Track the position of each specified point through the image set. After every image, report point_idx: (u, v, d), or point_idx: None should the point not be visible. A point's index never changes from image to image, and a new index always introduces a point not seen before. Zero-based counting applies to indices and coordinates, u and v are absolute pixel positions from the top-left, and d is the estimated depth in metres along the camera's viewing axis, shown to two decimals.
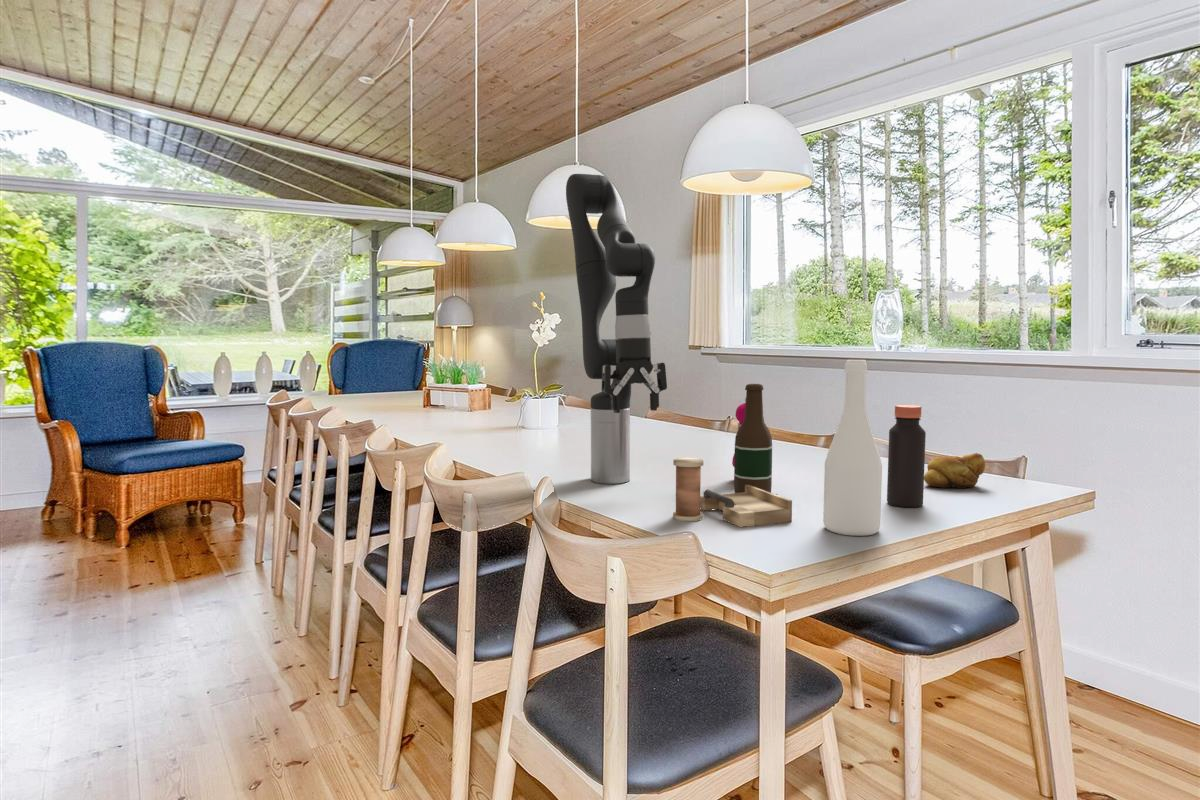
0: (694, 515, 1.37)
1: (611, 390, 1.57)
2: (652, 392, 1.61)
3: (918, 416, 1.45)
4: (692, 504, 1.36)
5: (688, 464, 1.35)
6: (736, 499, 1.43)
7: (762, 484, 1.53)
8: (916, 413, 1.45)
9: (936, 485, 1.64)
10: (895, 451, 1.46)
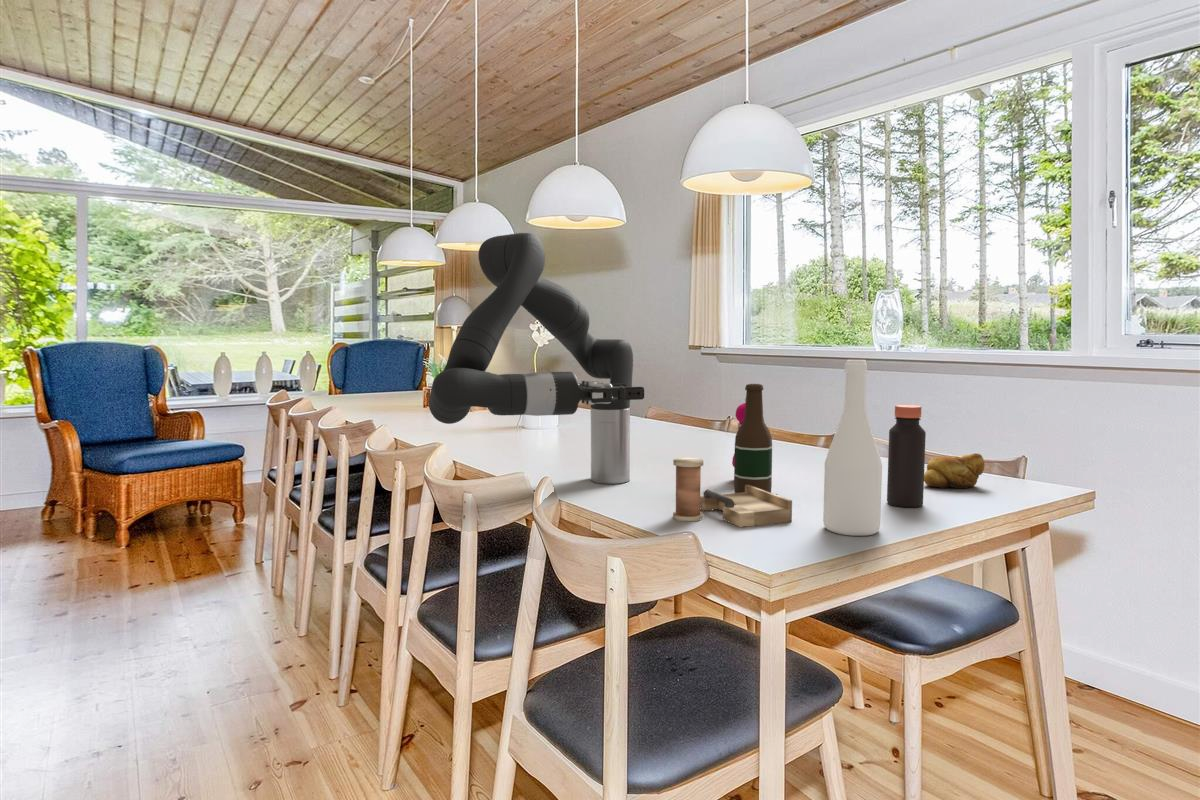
0: (694, 515, 1.37)
1: None
2: None
3: (918, 416, 1.45)
4: (692, 504, 1.36)
5: (688, 464, 1.35)
6: (736, 499, 1.43)
7: (762, 484, 1.53)
8: (916, 413, 1.45)
9: (935, 485, 1.64)
10: (895, 451, 1.46)
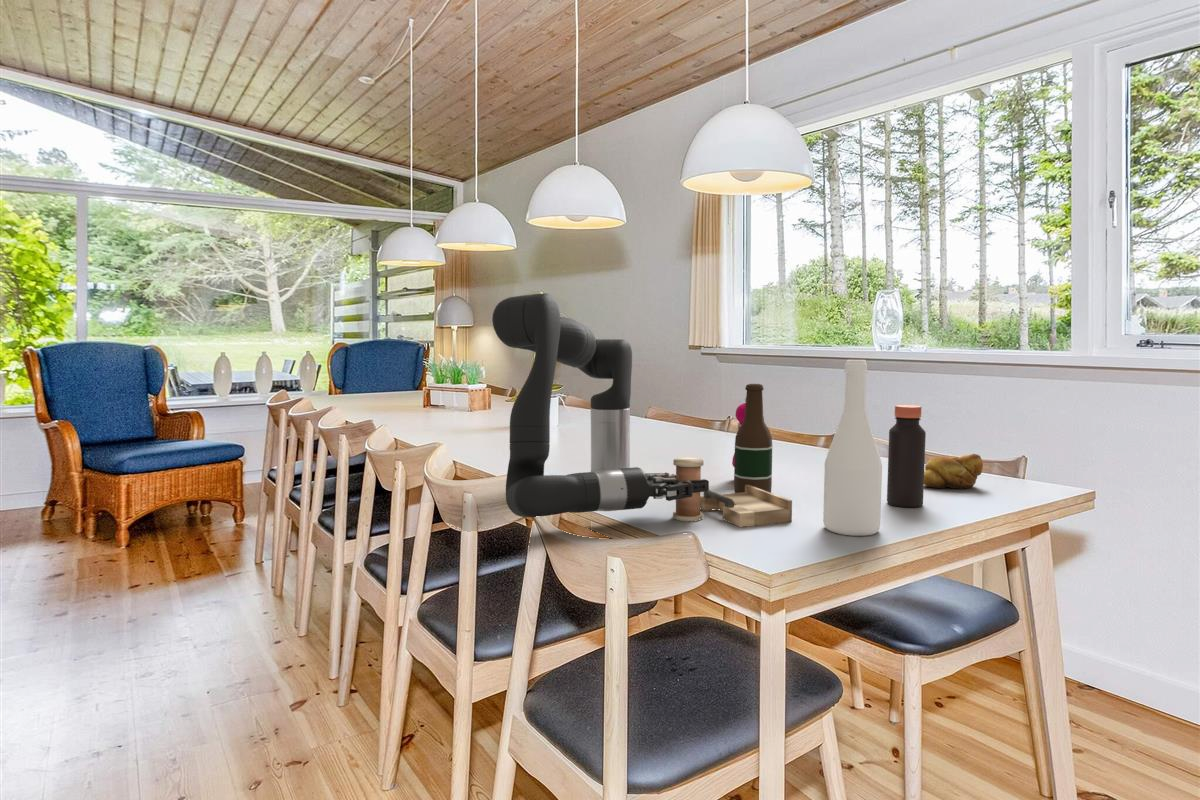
0: (694, 515, 1.37)
1: None
2: None
3: (918, 416, 1.45)
4: (692, 504, 1.36)
5: (688, 464, 1.35)
6: (736, 499, 1.43)
7: (762, 484, 1.53)
8: (916, 413, 1.45)
9: (932, 485, 1.64)
10: (895, 451, 1.46)
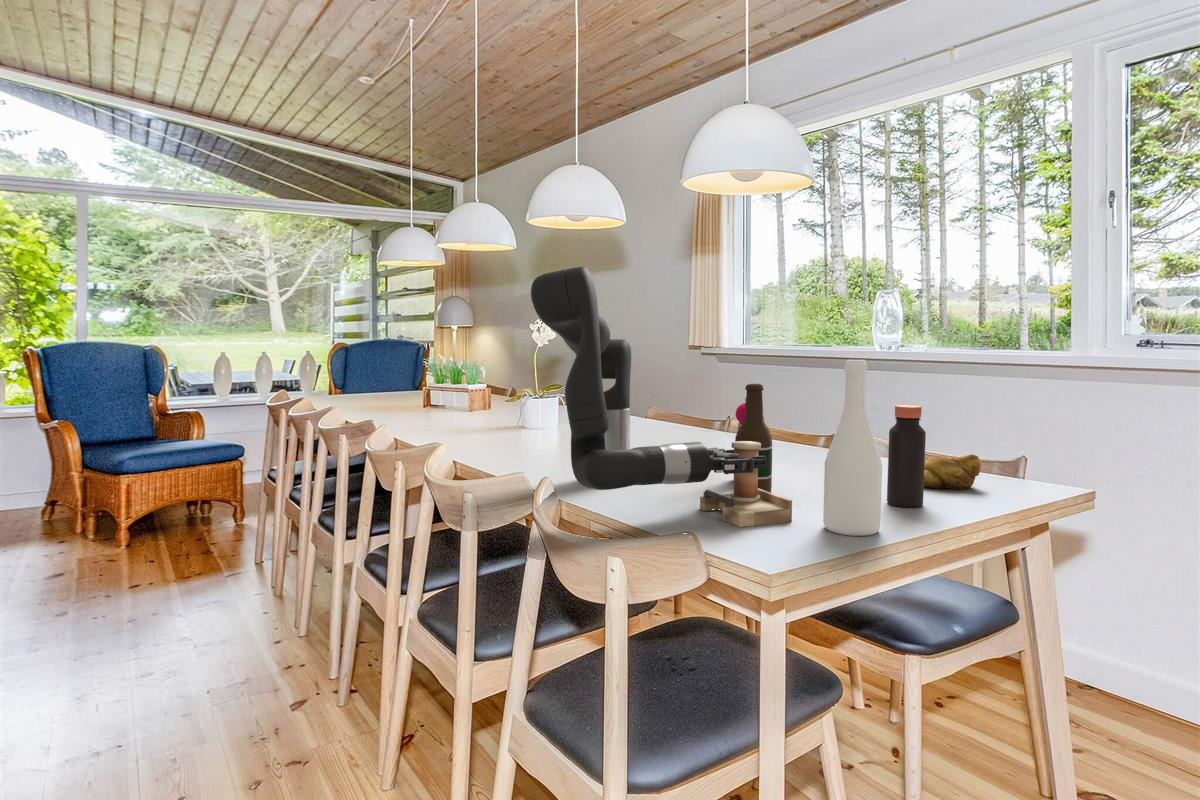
0: (752, 496, 1.41)
1: None
2: None
3: (918, 416, 1.45)
4: (750, 486, 1.40)
5: (747, 447, 1.39)
6: None
7: (762, 484, 1.53)
8: (916, 413, 1.45)
9: (929, 486, 1.63)
10: (895, 451, 1.46)
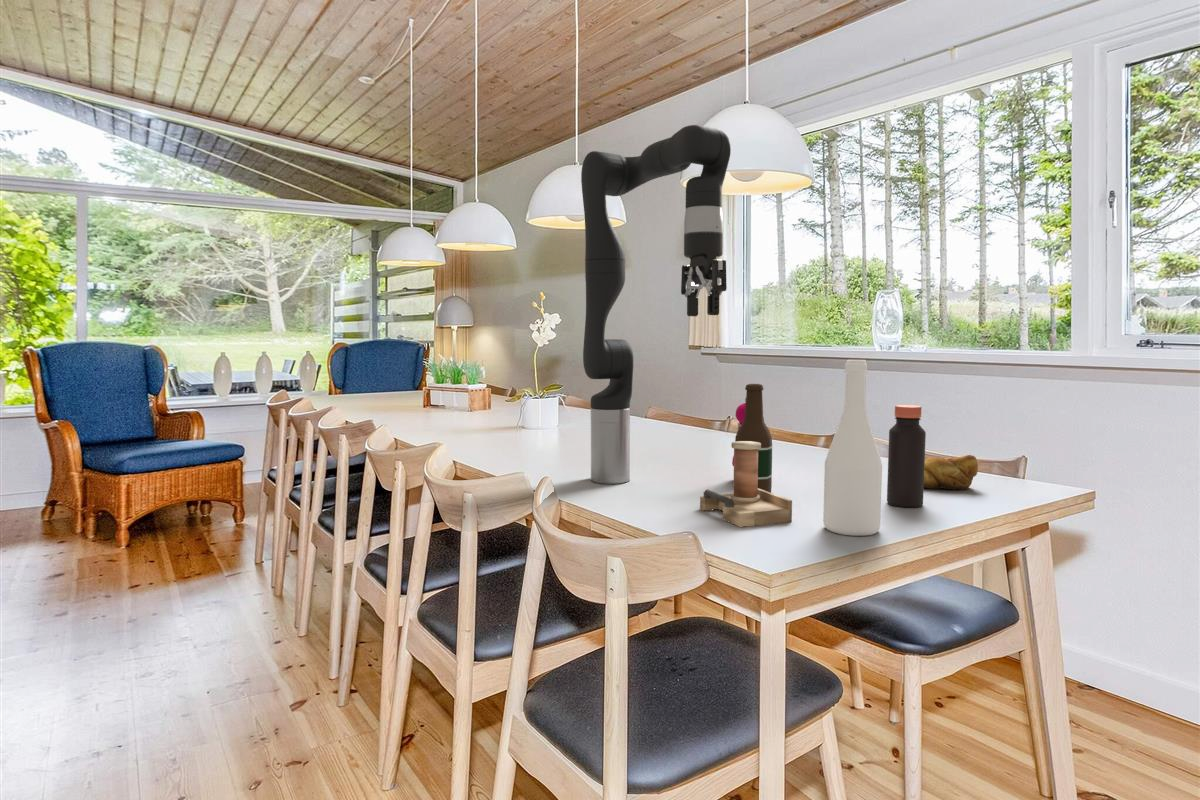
0: (752, 496, 1.41)
1: None
2: None
3: (918, 416, 1.45)
4: (750, 486, 1.40)
5: (747, 446, 1.39)
6: None
7: (762, 484, 1.53)
8: (916, 413, 1.45)
9: (926, 486, 1.63)
10: (895, 451, 1.46)
